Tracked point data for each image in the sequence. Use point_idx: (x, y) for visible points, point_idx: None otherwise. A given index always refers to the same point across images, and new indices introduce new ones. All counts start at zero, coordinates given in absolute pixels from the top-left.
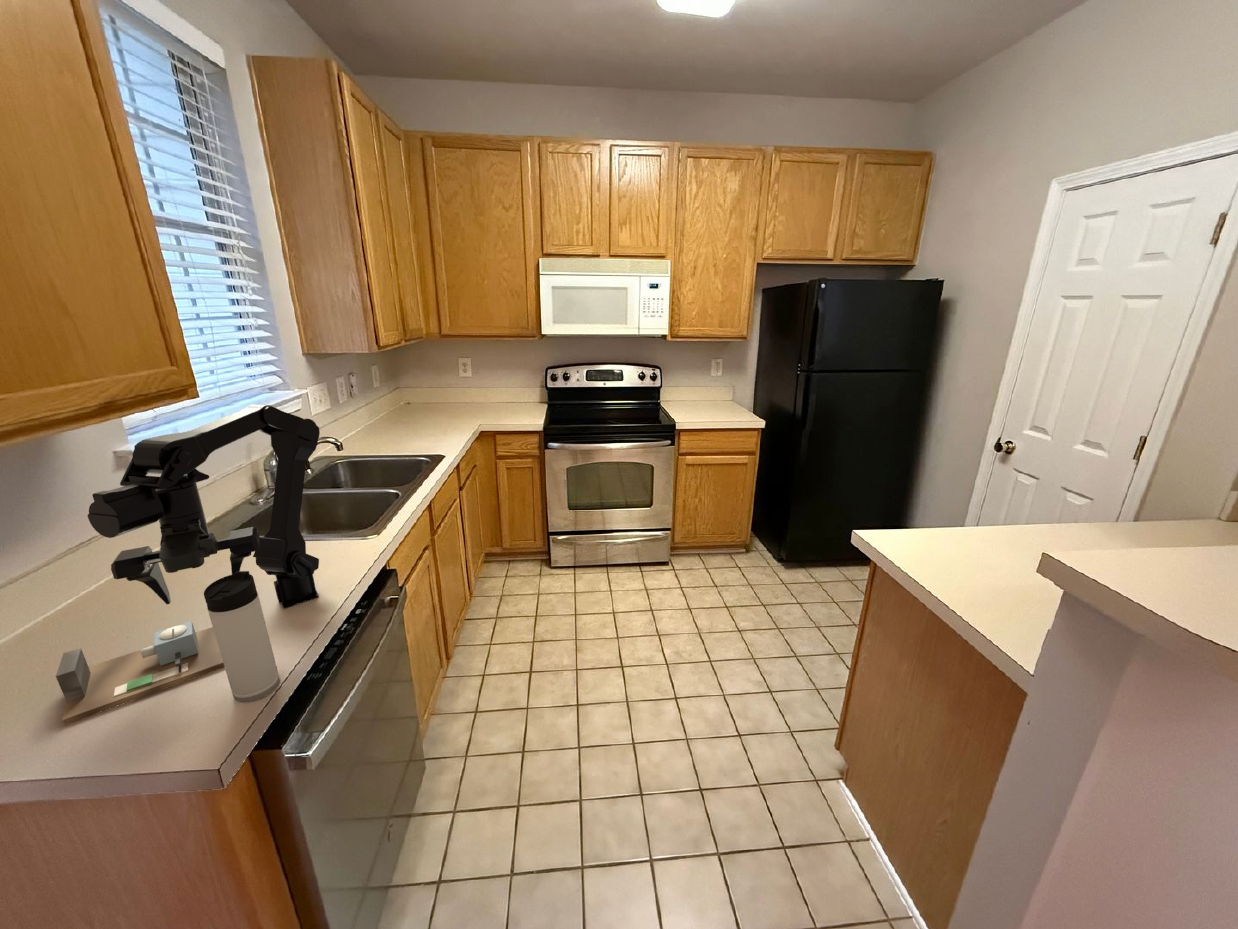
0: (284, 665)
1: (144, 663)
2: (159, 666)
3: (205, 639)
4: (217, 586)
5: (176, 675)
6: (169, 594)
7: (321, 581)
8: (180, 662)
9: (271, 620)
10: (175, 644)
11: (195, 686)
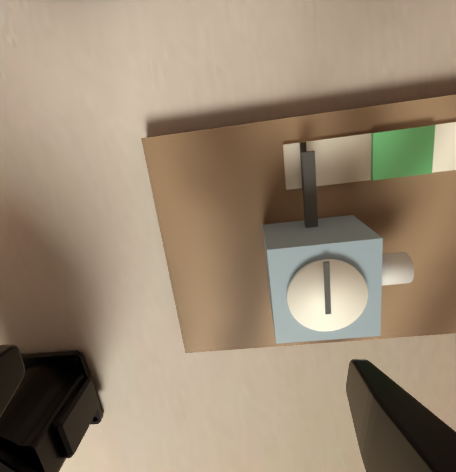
0: (27, 27)
1: None
2: None
3: (251, 295)
4: None
5: (311, 137)
6: (358, 439)
7: None
8: (301, 164)
9: (107, 312)
10: (317, 237)
11: (262, 70)
